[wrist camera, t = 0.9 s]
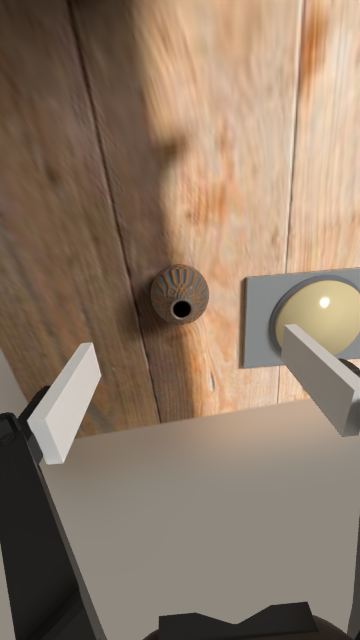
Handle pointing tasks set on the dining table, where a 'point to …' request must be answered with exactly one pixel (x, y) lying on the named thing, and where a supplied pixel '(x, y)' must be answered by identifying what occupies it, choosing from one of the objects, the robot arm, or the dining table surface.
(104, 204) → the dining table surface
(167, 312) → the vase
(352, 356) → the board
